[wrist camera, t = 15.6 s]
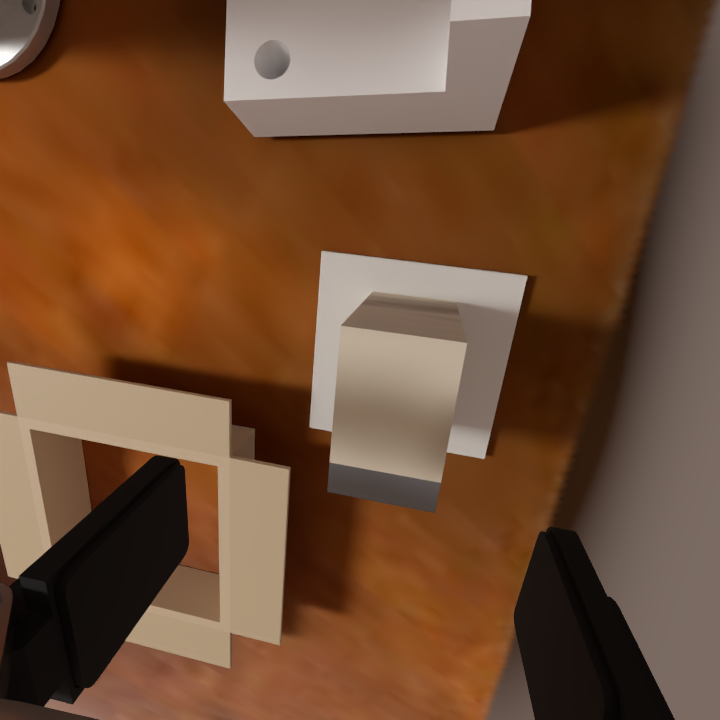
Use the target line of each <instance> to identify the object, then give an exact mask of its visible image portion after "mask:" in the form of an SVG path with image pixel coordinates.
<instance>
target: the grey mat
mask: <svg viewBox="0 0 720 720" xmlns="http://www.w3.org/2000/svg"><path fill="white" fill-rule="evenodd" d="M527 277H528V276H527V275H521V274H513V273H504V272H496V271H488V270H480V269H471V268H463V267H455V266H447V265H438V264H430V263H422V262H414V261H406V260H397V259H389V258H381V257H373V256H364V255H356V254H348V253H340V252H331V251H322V253H321V267H320V282H319V296H318V310H317V325H316V339H315V354H314V368H313V382H312V397H311V411H310V425H309V427H310V428H315V429H321V430H327V431H332V426H333V414H334V402H335V389H336V377H337V365H338V353H339V341H340V329H341V325H342V324H343V323H344V322H345V321H346V319H347V318H348V317H349V316H350V315H351V314H352V313H353V312H354V311H355V310H356V309H357V308H358V307H359V306H360V304H361V303H362V302H363V301H364V300H365V299H366V298H367V297H368V296H369V295H370V294H371V293H372V292H381V293H389V294H398V295H406V296H414V297H422V298H430V299H438V300H446V301H454V302H456V304H457V307H458V311H459V315H460V318H461V322H462V325H463V329H464V333H465V336H466V340H467V347H466V353H465V358H464V363H463V368H462V374H461V379H460V384H459V390H458V395H457V400H456V405H455V411H454V416H453V421H452V426H451V432H450V437H449V442H448V447H447V452H449V453H454V454H460V455H465V456H471V457H477V458H482V459H485V455H486V450H487V446H488V442H489V438H490V433H491V429H492V425H493V421H494V416H495V412H496V408H497V404H498V399H499V395H500V391H501V387H502V383H503V378H504V374H505V370H506V366H507V361H508V357H509V353H510V349H511V344H512V340H513V336H514V332H515V328H516V323H517V319H518V315H519V311H520V306H521V302H522V298H523V294H524V289H525V285H526V281H527Z"/></svg>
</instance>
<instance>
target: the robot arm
mask: <svg viewBox="0 0 720 720" xmlns="http://www.w3.org/2000/svg"><path fill="white" fill-rule="evenodd" d="M59 6H60V0H0V79H1V78H6V77H8V76H11V75H13V74H15V73H18V72H20V71H21V70H23V69H24V68H25V67H26V66H28V65H29V64H30V63H31V62H33V61H34V60H35V58H36V57H37V56H38V54H39V53H40V52H41V50H42V49H43V48H44V46H45V45H46V43H47V41H48V38H49V36H50V34H51V32H52V30H53V28H54V25H55V21H56V17H57V13H58V9H59ZM188 546H189V535H188V518H187V500H186V483H185V469H184V467H183V466H182V465H180V462H179V460H178V459H175V458H169V457H164V456H158V455H157V456H154V457H152V458H151V459H150V460H149V461H148V462H147V463H145V464H144V465H143V466H142V467H141V468H140V469H139V470H138V471H136V472H135V473H134V474H133V475H132V476H131V477H130V478H129V479H127V480H126V481H125V482H124V483H123V484H122V485H121V486H120V487H118V488H117V489H116V490H115V491H114V492H113V493H112V494H111V495H109V496H108V497H107V498H106V499H105V500H104V501H103V502H101V503H100V504H99V505H98V506H97V507H96V508H95V509H94V510H92V511H91V512H90V513H89V514H88V515H87V516H86V517H85V518H83V519H82V520H81V521H80V522H79V523H78V524H77V525H76V526H74V527H73V528H72V529H71V530H70V531H69V532H68V533H67V534H65V535H64V536H63V537H62V538H61V539H60V540H59V541H57V542H56V543H55V544H54V545H53V546H52V547H51V548H50V549H48V550H47V551H46V552H45V553H44V554H43V555H42V556H41V557H39V558H38V559H37V560H36V561H35V562H34V563H33V564H32V565H30V566H29V567H28V568H27V569H26V570H25V571H24V572H23V573H21V574H20V575H19V578H18V579H17V580H16V581H15V582H14V583H12V584H11V585H10V586H8V585H6V584H3V583H0V720H98V719H94V718H90V717H85V716H81V715H77V714H72V713H68V712H64V711H59V710H55V709H50V708H46V707H44V706H45V704H46V703H47V702H48V700H49V699H54V700H58V701H62V702H66V703H70V704H73V703H74V702H75V701H76V699H77V698H78V696H79V695H80V694H81V692H82V691H83V690H84V688H89V687H91V686H92V685H93V684H94V683H95V682H96V681H97V680H98V678H99V677H100V675H101V674H102V673H103V671H104V670H105V668H106V667H107V666H108V664H109V663H110V661H111V660H112V658H113V657H114V656H115V654H116V653H117V651H118V650H119V649H120V647H121V646H122V644H123V643H124V641H125V640H126V639H127V637H128V636H129V634H130V633H131V632H132V630H133V629H134V627H135V626H136V624H137V623H138V622H139V620H140V619H141V617H142V616H143V615H144V613H145V612H146V610H147V609H148V607H149V606H150V605H151V603H152V602H153V600H154V599H155V598H156V596H157V595H158V593H159V592H160V590H161V589H162V588H163V586H164V585H165V583H166V582H167V581H168V579H169V578H170V576H171V575H172V573H173V572H174V571H175V569H176V568H177V566H178V565H179V564H180V562H181V561H182V559H183V558H184V556H185V554H186V552H187V549H188ZM514 624H515V630H516V634H517V639H518V643H519V648H520V653H521V657H522V662H523V666H524V671H525V675H526V680H527V685H528V689H529V694H530V698H531V703H532V708H533V712H534V717H535V720H675V719H674V718H673V715H672V713H671V711H670V709H669V707H668V705H667V703H666V701H665V699H664V697H663V695H662V693H661V691H660V689H659V687H658V685H657V683H656V681H655V679H654V677H653V675H652V673H651V671H650V669H649V667H648V665H647V663H646V661H645V659H644V657H643V655H642V653H641V651H640V648H639V647H638V644H637V642H636V641H635V638H634V636H633V635H632V633H631V630H630V628H629V626H628V624H627V622H626V620H625V618H624V616H623V614H622V612H621V610H620V608H619V607H618V605H617V603H616V602H615V601H614V600H613V599H612V598H611V597H607V595H606V593H605V591H604V589H603V586H602V585H601V582H600V580H599V578H598V576H597V574H596V572H595V570H594V568H593V566H592V563H591V562H590V559H589V557H588V555H587V553H586V551H585V549H584V547H583V545H582V543H581V541H580V539H579V536H578V535H577V533H576V532H575V531H571V530H566V529H560V528H555V527H549V528H548V529H547V531H546V532H543V531H542V532H540V533H539V535H538V538H537V541H536V544H535V547H534V551H533V554H532V557H531V560H530V563H529V566H528V569H527V572H526V576H525V579H524V582H523V585H522V588H521V591H520V594H519V597H518V601H517V604H516V607H515V611H514Z"/></svg>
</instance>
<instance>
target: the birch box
mask: <svg viewBox="0 0 720 720" xmlns="http://www.w3.org/2000/svg"><path fill="white" fill-rule="evenodd" d="M466 347H467V340H466V336H465V333H464V329H463V325H462V322H461V318H460V315H459V311H458V307H457V304H456V302H454V301H446V300H438V299H430V298H422V297H414V296H406V295H398V294H389V293H381V292H372V293H371V294H370V295H369V296H368V297H367V298H366V299H365V300H364V301H363V302H362V303H361V304H360V306H359V307H358V308H357V309H356V310H355V311H354V312H353V313H352V314H351V315H350V316H349V317H348V318H347V319H346V321H345V322H344V323H343V324H342V325H341V329H340V341H339V353H338V365H337V377H336V389H335V402H334V414H333V426H332V438H331V450H330V463H329V475H328V487H327V492H330V493H335V494H340V495H346V496H351V497H356V498H361V499H366V500H371V501H377V502H382V503H387V504H392V505H397V506H402V507H408V508H413V509H418V510H423V511H428V512H433V513H435V510H436V505H437V500H438V495H439V489H440V484H441V479H442V474H443V468H444V463H445V458H446V453H447V447H448V442H449V437H450V432H451V426H452V421H453V416H454V411H455V405H456V400H457V395H458V390H459V384H460V379H461V374H462V368H463V363H464V358H465V353H466Z"/></svg>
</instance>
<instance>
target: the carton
mask: <svg viewBox="0 0 720 720" xmlns="http://www.w3.org/2000/svg"><path fill="white" fill-rule="evenodd" d="M7 366H8V371H9V376H10V381H11V386H12V392H13V397H14V402H15V407H16V412H17V414H15V413H10V412H5V411H0V544H1V549H2V553H3V557H4V561H5V565H6V570H7V574H8V576H9V577H13V578H17V579H18V578H19V575H20V574H21V573H23V572H24V571H25V570H26V569H27V568H28V567H29V566H30V565H32V564H33V563H34V562H35V561H36V560H37V559H38V558H39V557H41V556H42V555H43V554H44V553H45V552H46V551H47V550H48V549H50V548H51V547H52V546H53V545H54V544H55V543H56V542H57V541H59V540H60V539H61V538H62V537H63V536H64V535H65V534H67V533H68V532H69V531H70V530H71V529H72V528H73V527H74V526H76V525H77V524H78V523H79V522H80V521H81V520H82V519H83V518H85V517H86V516H87V515H88V514H89V513H90V512H91V504H90V497H89V489H88V482H87V475H86V468H85V461H84V454H83V447H82V439H83V440H88V441H93V442H98V443H103V444H108V445H113V446H118V447H124V448H129V449H134V450H139V451H144V452H149V453H154V454H159V455H164V456H169V457H174V458H179V459H184V460H189V461H194V462H199V463H204V464H209V465H214V466H218V508H219V574H215V573H211V572H207V571H203V570H198V569H194V568H190V567H186V566H181V565H178V566H177V568H176V569H175V571H174V572H173V573H172V575H171V576H170V578H169V579H168V581H167V582H166V583H165V585H164V586H163V588H162V589H161V590H160V592H159V593H158V595H157V596H156V598H155V599H154V600H153V602H152V603H151V605H150V606H149V607H148V609H147V610H146V612H145V613H144V615H143V616H142V617H141V619H140V620H139V622H138V623H137V624H136V626H135V627H134V629H133V630H132V632H131V633H130V634H129V636H128V637H127V639H126V640H125V641H128V642H132V643H136V644H139V645H143V646H147V647H151V648H154V649H158V650H162V651H166V652H170V653H173V654H177V655H181V656H185V657H188V658H192V659H196V660H200V661H203V662H207V663H211V664H215V665H218V666H222V667H226V668H231V666H232V633H233V634H237V635H241V636H245V637H249V638H253V639H257V640H261V641H265V642H269V643H273V644H277V645H280V643H281V636H282V618H283V599H284V581H285V562H286V544H287V526H288V507H289V489H290V471H291V467H288V466H283V465H278V464H273V463H268V462H263V461H258V460H254V458H255V429H254V428H248V427H243V426H237V425H232V403H231V399H226V398H220V397H214V396H209V395H203V394H197V393H192V392H186V391H180V390H174V389H169V388H163V387H157V386H152V385H146V384H140V383H135V382H129V381H123V380H117V379H112V378H106V377H100V376H95V375H89V374H83V373H77V372H72V371H66V370H60V369H55V368H49V367H43V366H38V365H32V364H26V363H20V362H15V361H9V362H7Z"/></svg>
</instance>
